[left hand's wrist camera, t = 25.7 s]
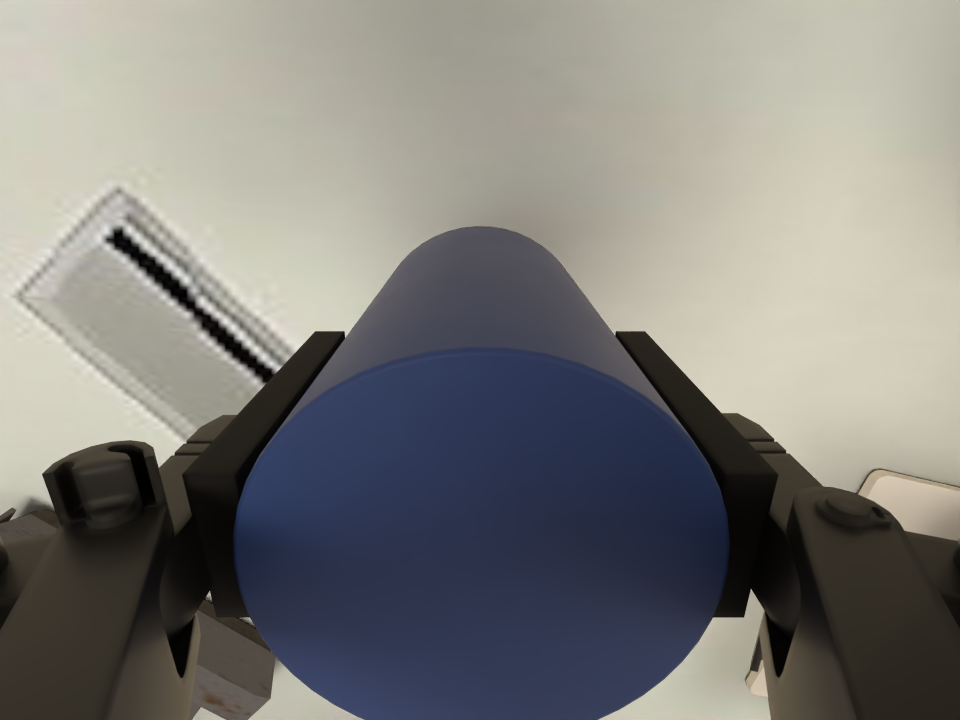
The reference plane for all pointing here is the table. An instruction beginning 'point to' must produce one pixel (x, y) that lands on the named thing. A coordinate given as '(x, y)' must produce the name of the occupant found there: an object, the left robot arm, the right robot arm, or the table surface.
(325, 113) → the table surface
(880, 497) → the tablet stand
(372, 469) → the canister
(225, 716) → the toy
